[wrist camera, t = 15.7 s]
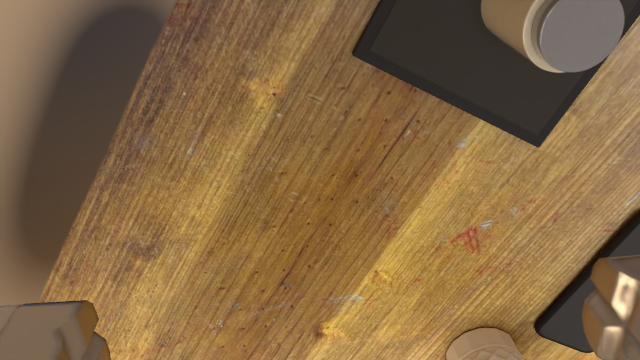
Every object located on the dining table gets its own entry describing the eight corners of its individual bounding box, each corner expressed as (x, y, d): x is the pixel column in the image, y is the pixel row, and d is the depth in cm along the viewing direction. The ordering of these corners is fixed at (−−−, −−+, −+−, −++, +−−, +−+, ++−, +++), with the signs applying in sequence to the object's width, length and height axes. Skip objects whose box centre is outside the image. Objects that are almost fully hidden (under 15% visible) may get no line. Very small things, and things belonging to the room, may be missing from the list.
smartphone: (531, 334, 49) (647, 210, 43) (527, 327, 50) (641, 204, 44) (591, 357, 51) (711, 241, 45) (587, 349, 52) (704, 235, 46)
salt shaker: (464, 19, 35) (511, 54, 28) (512, -59, 33) (576, -42, 26) (527, 53, 36) (587, 95, 29) (576, -19, 34) (654, 7, 27)
